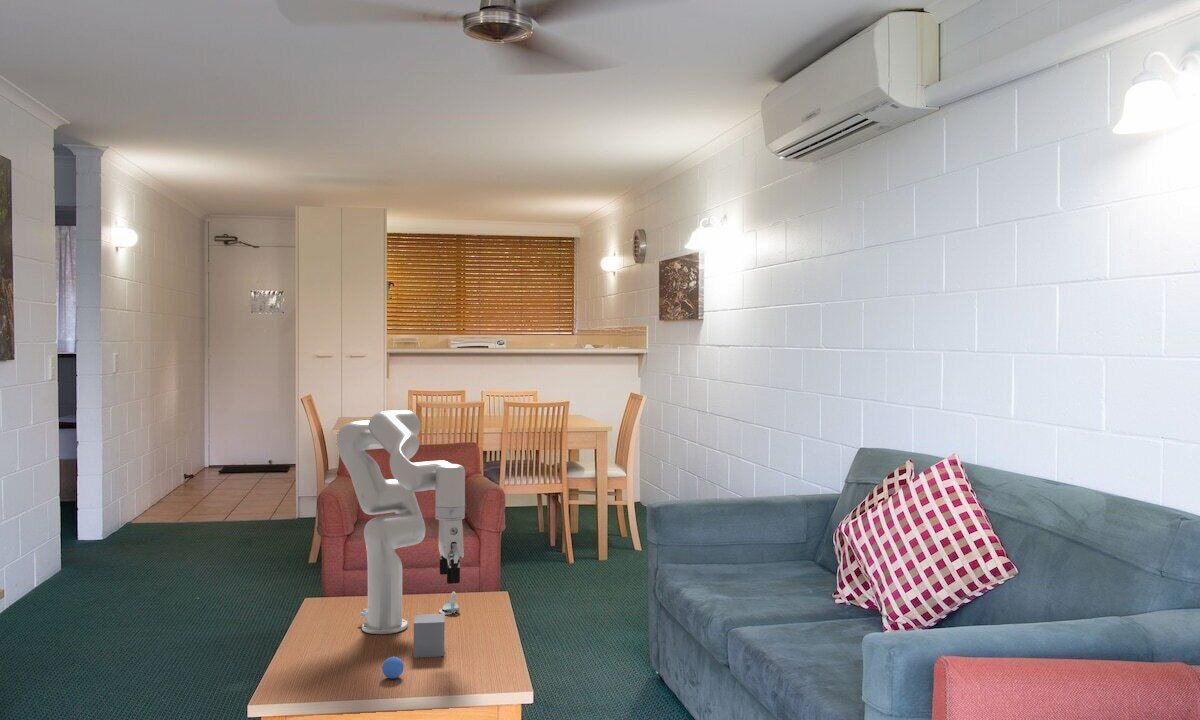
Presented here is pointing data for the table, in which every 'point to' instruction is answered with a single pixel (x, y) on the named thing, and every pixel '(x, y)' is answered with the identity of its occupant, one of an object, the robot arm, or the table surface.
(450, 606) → the pacifier
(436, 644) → the gray foam cube
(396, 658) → the ball
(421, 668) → the table surface
